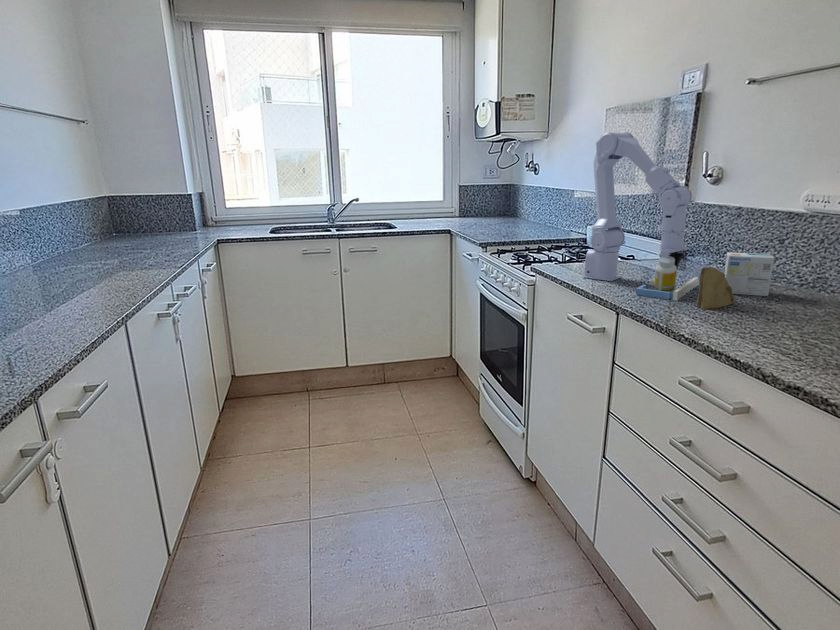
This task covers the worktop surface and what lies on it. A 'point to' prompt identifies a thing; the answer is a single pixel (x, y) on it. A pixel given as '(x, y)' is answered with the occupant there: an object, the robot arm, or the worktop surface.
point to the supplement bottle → (665, 274)
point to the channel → (666, 295)
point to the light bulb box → (749, 273)
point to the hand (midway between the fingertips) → (669, 278)
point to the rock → (713, 289)
